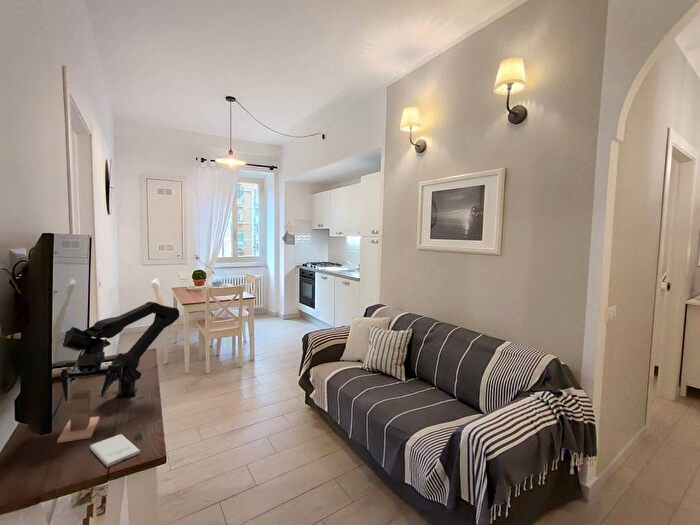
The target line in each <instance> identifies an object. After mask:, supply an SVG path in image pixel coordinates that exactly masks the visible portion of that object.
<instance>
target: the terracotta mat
mask: <svg viewBox="0 0 700 525" xmlns="http://www.w3.org/2000/svg"><path fill="white" fill-rule="evenodd" d="M99 420H100V416H92V417H91V416H90V423H89V425H88V427H87V429H86V430H80V431H73V432H70V421H71V419H69V420H68V422H67V424H65V426H64V428H63V430H62V432H61V433H60V435H59V436H58V438H57V440H56V442H57V444H58V443H65V442H70V441H71V442H72V441H77V440H78V441H79V440H84V439H90V438H92V436H93V434H94V432H95V429H96V427H97V424H98V423H99Z"/></svg>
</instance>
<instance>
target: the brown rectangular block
mask: <svg viewBox="0 0 700 525" xmlns="http://www.w3.org/2000/svg"><path fill="white" fill-rule="evenodd" d="M91 390H92V389H85V390H75V391H74V392H73V393H72V395H71V397H70V398H71V399H70V401H71V402H70V420H71V421H70V432H73V431H80V430H86V429H87V427H88V425H89V423H90V417H91V393H92V391H91Z"/></svg>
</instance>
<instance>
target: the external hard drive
mask: <svg viewBox="0 0 700 525" xmlns="http://www.w3.org/2000/svg"><path fill="white" fill-rule="evenodd" d="M89 449H90V450H91V452H92V453H93V454H94V455H95V456H97V458H98V459H99V460H100V461H101V462H102V463H103V464H104V465H105V466H106V468H108V467H112V466H114V465H115V464H118V463H120V462H122V461H124V460H126V459H129V458H131V457H134V456H137V455H139V454H140V453H141V450H140V449H139V448H138V447H137V446H135V445H134V444H133V443H132V442H131V441H130V440H129V439H128V438H126V437H125V436H124V435H123V434H121V433H120V434H117V435H115V436H112V437H109V438H106V439H104V440H101V441H97V442H95V443H92V444H90V445H89Z"/></svg>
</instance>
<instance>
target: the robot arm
mask: <svg viewBox="0 0 700 525" xmlns="http://www.w3.org/2000/svg"><path fill="white" fill-rule="evenodd" d="M151 314H154V319H153V322H152V323H151V324H150V325H149V326H148V328H147V329H146V330H145V331H144V332H143V334H142V335H141V336H140V337H139V338H138V340H137V341H136V342H135V343H134V344H133V345H132V346H131V348H130V349H129V350H128V351H127V352H125V353H121V352H120V353H118V354H117V355H116V357H115V358H114V359H113V360H112V361H111V364H108V367H107V368H106V369H105V368H104V369H101V368H102V367H101V366H102V363H103V362H105V358H106V357H105V356H106V354H105V350H104V349H105V348H106V347H108V346H110V345H111V342H110V341H108V340H107V339H112V338H114V337H115V336H117V335H118V334H120V333H121V332H122V331H123V330H124V329H125V328H126V327H127V326H129V325H131V324H134V323H135V322H137V321H140V320H142V319H143V318H146V317H147V316H150V315H151ZM179 317H180V311H179V309H178V308H177V307H172V306H168V305H162V304H160V303H158V302H154V301H147V302H145V303H144V304H141V305H140V306H138V307H136V308H133V309H131V310H129V311H126V312H124V313H123V314H120V315H118V316H117V315H116V316H113V317H107V318H104V319H103V318H102V319H100V320H98V321H96V322H95V323H94V325H91V326H90V327H88V328H86V329H84V330H82V329H80V328H78V327H74V326H71V328H70V329H68V330H67V331H65V332H66V335H65V339H64V343H63V347H62V348H65V349H68V350H72V351H74V352H80V351H82V354H80V355H78V357H77V363H76V364H77V370H78V371H70V369H69V368H62V369H63V370H62V372H61V376H62V377H60V378H61V383H62V386H61V387H62V389H63V390H62V392H63V395H64V401H65V402H66V403H67V402H68V400H69V397H70V391H71V379H77V378H78V379H79V378H87V377H99V376H100V377H101V376H105V378H104V383H103V386H102V389H101V394H100V397H101V398H104V396H105V394H106V393H107V391H108V390H109V388H111V385H112V384H113V383H114V382H115V381H117V391H116V394H115V399H119V398H130V397H136V395H137V391H138V388H137V387H136V381H138V380H140V379H141V376H142V373H141V372H140V371H139V370H138V367H139V364H140V359H141V357H142V356H143V355H144V354H145V353H146V351H147V350H148V348H150V346H151V345H152V344H153V342H155V341H156V339H157V338H158V337H159V335H160V334H161V333H162V332H163V331H164V329H166V328H167V327H169V326H171V325H173V324H174V323H175V322H176V321H177V320H178V319H179Z"/></svg>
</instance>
